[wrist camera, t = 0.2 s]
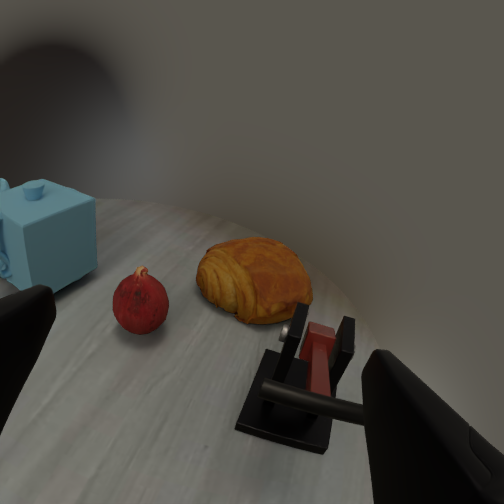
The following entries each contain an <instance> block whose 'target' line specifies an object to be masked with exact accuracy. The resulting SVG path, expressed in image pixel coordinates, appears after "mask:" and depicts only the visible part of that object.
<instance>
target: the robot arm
mask: <svg viewBox="0 0 504 504" xmlns="http://www.w3.org/2000/svg"><path fill="white" fill-rule="evenodd" d="M55 318H56V306H55V300H54V294H53V290H52V288H50V287H49V286H45V285H42V284H38V285H35V286H32V287H30V288H27V289H24V290H22V291H19V292H17V293H14V294H11V295H9V296H6V297H4V298H1V299H0V435H1V432H2V430H3V428H4V426H5V423H6V421H7V419H8V417H9V415H10V413H11V410H12V408H13V406H14V404H15V402H16V400H17V398H18V396H19V394H20V392H21V390H22V388H23V386H24V384H25V382H26V380H27V378H28V376H29V374H30V372H31V371H32V369H33V367H34V365H35V363H36V361H37V359H38V357H39V355H40V352H41V350H42V348H43V345H44V343H45V341H46V338H47V336H48V334H49V332H50V329H51V327H52V325H53V323H54V321H55ZM361 380H362V397H363V418H364V429H365V436H366V443H367V450H368V457H369V465H370V473H371V481H372V490H373V500H374V504H504V455H503V454H502V453H501V452H499V451H498V450H497V449H496V448H495V447H493V446H492V445H491V444H490V443H489V442H488V441H487V440H486V439H484V438H483V437H482V436H481V435H480V434H479V433H478V432H477V431H476V430H475V429H474V428H473V427H472V426H469V424H468V423H467V422H466V421H465V420H464V419H463V418H462V417H461V416H460V415H459V414H458V413H456V412H455V411H454V410H453V409H452V408H451V407H450V406H449V405H448V404H447V403H446V402H445V401H443V400H442V399H441V398H440V397H439V396H438V395H437V394H436V393H435V392H434V391H433V390H431V389H430V388H429V387H428V386H427V385H426V384H425V383H424V382H423V381H422V380H421V379H420V378H418V377H417V376H416V375H415V374H414V373H413V372H412V371H411V370H410V369H409V368H408V367H406V366H405V365H404V364H403V363H402V362H401V361H400V360H399V359H397V357H395V356H394V355H393V354H392V353H391V352H390V351H388V350H381V349H376V350H374V351H373V352H372V354H371V356H370V358H369V360H368V361H367V363H366V365H365V367H364V369H363V371H362V376H361Z"/></svg>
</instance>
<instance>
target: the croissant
mask: <svg viewBox="0 0 504 504" xmlns="http://www.w3.org/2000/svg"><path fill="white" fill-rule="evenodd" d="M196 282H197V285H198V286H199V287H200V290H201V292H202V294H203V296H204V297H205V298H207V299H208V301H210V302H211V303H213V304H215V306H216V308H218V307H221V308H224V309H225V311H227V312H230V313H235V316H234V317H236V318H237V319H238V320H239V321H242V322H244V323H246V324H249V323H252V324H271V323H278V322H281V321H284V320H287V319H289V318H292V317H293V314H294V311H295V308H296V305H297V302H300V303H304V304H307V305H310V304H311V302H312V300H313V293H312V288H311V282H310V278H309V276H308V274H307V273H306V271H305V269H304V267H303V265H302V263H301V262H300V260H299V259H298V256H297V255H296V254H295V253H294V252H293V251H292V250H290V249H289V248H288V247H286V246H285V245H283V243H281V242H278V241H275V240H272V239H269V238H261V237H250V238H245V239H236V240H230V241H228V242H224V243H220V244H216V245H214V246H213V247H211V248H209V249H208V250H207V252H206V255H205V256H204V257H203V258H202V260H201V261H200V263H199V266H198V270H197V276H196Z"/></svg>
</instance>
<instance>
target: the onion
mask: <svg viewBox="0 0 504 504" xmlns="http://www.w3.org/2000/svg"><path fill="white" fill-rule="evenodd" d="M147 272H148V269H147V268H146V267H144V266H140V267H137V269H136V271H135V272H134V274H133V275H130V276H128V277H126V278H125V279H124V280H122V281H121V282H120V284H119V285H118V287H117V289H116V290H115V292H114V296H113V312H114V316H115V317H116V319H117V321H118V322H119V324H120V325H121V326H122V327H123V328H124V329H126V330H127V331H129V332H131V333H134V334H139V335H141V334H148V333H150V332H152V331H154V330H156V329H157V328H158V327H159V326H160V325H161V324H162V323H163V322H164V321H165V320H166V316H167V313H168V308H169V300H168V297H167V293H166V290H165V288H164V287H163V285H162V284H161V283H160V282H159V281H158V280H156V279H155V278H154V277H153V276H151V275H148V274H147Z"/></svg>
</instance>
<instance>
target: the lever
mask: <svg viewBox="0 0 504 504" xmlns="http://www.w3.org/2000/svg"><path fill="white" fill-rule="evenodd" d="M335 341H336V336H335V331H334V329H333V328H330V327H327V326H323V325H320V324H317V323H313V322H309V323H308V326H307V329H306V332H305V335H304V338H303V341H302V343H301V346H300V353H299V359H302V360H305V361H308V368H307V382H306V390H304V389H300V388H297V387H294V386H290V385H287V384H284V383H280V382H277V381H274V380H271V379H267V378H264V379H263V382H262V385H261V387H260V390H259V393H258V398H261V399H264V400H267V401H271V402H274V403H277V404H280V405H284V406H287V407H291V408H294V409H298V410H301V411H305V412H308V413H312V414H316V415H320V416H324V417H328V418H332V419H336V420H340V421H344V422H349V423H353V424H358V425H362V426H364V418H363V405H362V404H358V403H353V402H349V401H345V400H341V399H337V398H333V397H331V392H330V380H329V368H328V359H329V357H330V354H331V352H332V349H333V346H334V344H335Z"/></svg>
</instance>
